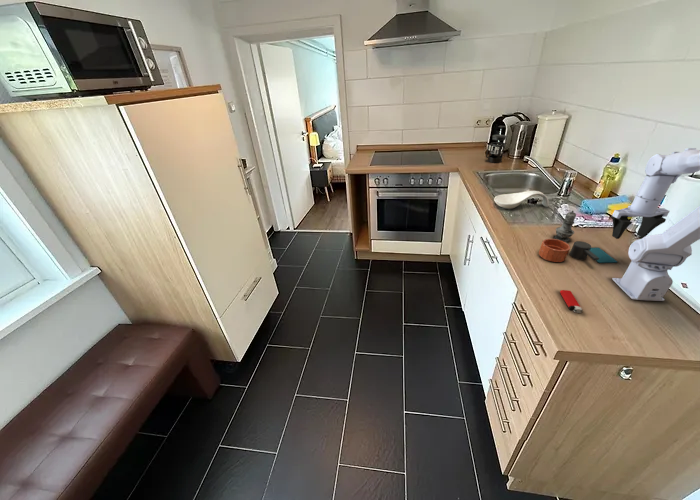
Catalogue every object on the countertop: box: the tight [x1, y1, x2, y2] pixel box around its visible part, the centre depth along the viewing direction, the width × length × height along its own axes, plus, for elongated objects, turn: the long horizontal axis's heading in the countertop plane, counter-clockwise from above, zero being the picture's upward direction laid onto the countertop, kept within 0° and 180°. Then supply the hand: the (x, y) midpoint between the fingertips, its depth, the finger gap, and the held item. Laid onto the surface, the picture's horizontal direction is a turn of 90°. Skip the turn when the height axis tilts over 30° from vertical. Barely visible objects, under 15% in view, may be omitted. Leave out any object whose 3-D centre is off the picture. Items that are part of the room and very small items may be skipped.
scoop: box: [569, 240, 599, 261], centre depth 97 cm, size 10×5×5 cm, turn 178°
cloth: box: [590, 247, 618, 264], centre depth 99 cm, size 6×9×1 cm, turn 178°
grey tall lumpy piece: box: [553, 209, 577, 243], centre depth 107 cm, size 6×6×12 cm
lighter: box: [559, 289, 584, 314], centre depth 81 cm, size 3×1×8 cm
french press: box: [485, 125, 508, 164], centre depth 194 cm, size 12×9×23 cm
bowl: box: [538, 238, 571, 263], centre depth 99 cm, size 8×8×5 cm
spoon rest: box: [493, 190, 550, 210], centre depth 135 cm, size 24×12×7 cm, turn 85°
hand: (627, 236), depth 91 cm, fingers open, 7 cm apart
